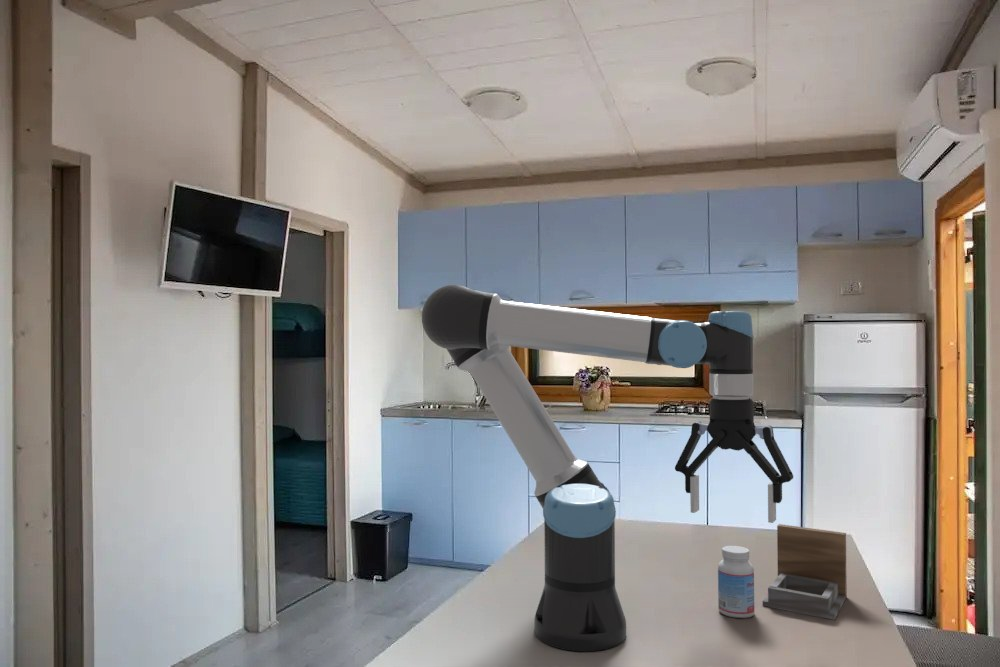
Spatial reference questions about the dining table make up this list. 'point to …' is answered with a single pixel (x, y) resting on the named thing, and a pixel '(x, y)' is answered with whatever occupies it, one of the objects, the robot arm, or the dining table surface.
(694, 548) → the dining table surface
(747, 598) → the pill bottle
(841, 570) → the cup bracket
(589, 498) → the robot arm
